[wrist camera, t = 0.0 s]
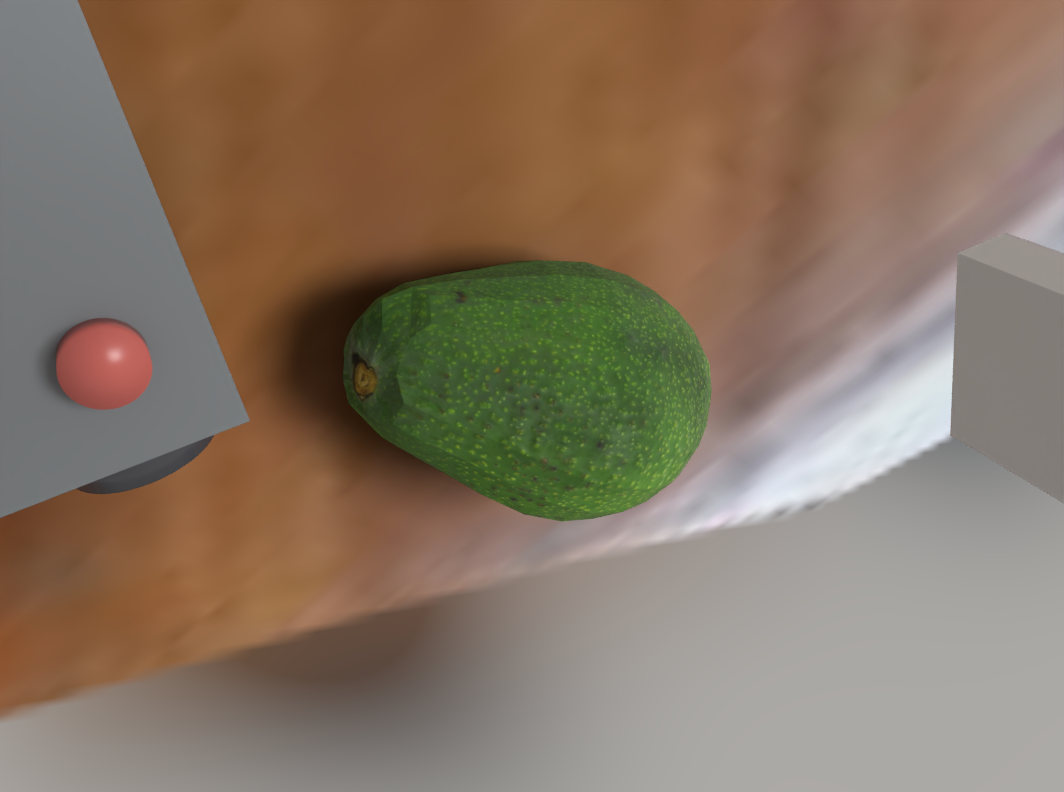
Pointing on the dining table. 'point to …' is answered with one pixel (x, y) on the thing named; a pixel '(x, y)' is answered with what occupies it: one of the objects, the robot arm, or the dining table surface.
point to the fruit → (534, 384)
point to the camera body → (90, 283)
